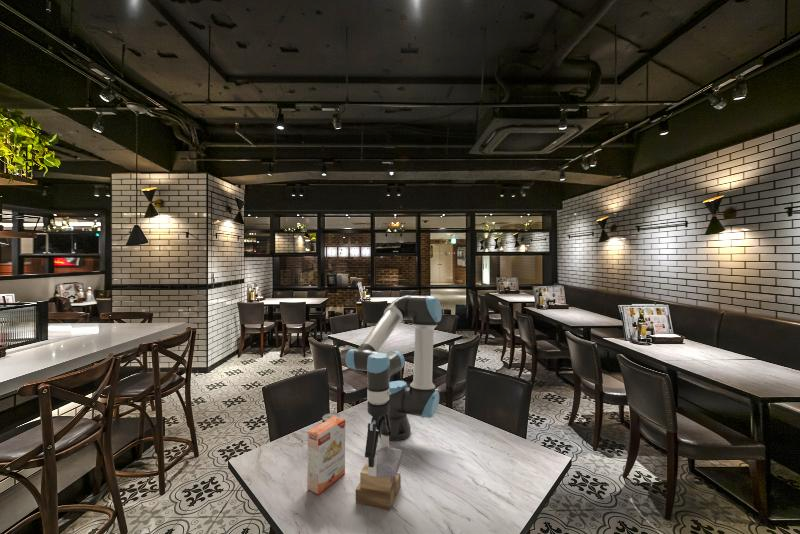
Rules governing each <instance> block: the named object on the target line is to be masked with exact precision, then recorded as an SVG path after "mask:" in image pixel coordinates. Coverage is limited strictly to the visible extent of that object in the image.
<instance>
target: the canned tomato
mask: <svg viewBox="0 0 800 534" xmlns="http://www.w3.org/2000/svg"><path fill="white" fill-rule="evenodd" d="M334 416H336V417H338V418H341V415H340V413H336V412H329V413H326V414H323V416H322V417H321V418H322V423H323V422H325V421H327V420H329V419H330V418H332V417H334Z"/></svg>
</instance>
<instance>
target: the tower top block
mask: <svg viewBox="0 0 800 534" xmlns="http://www.w3.org/2000/svg"><path fill="white" fill-rule="evenodd" d="M359 472H360V473H359V474H360V476H359V478H360V479H359V483H360V488H366V489H372V490H378V491H384V492H389V491H390V489H391V487H392V484H393V482H394V479H395V477H377V476H376V477H375V476H370V475H368V459H367V461H366V462H365V463H364V466H363V467H362V468H361V471H359Z"/></svg>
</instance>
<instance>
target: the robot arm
mask: <svg viewBox="0 0 800 534" xmlns="http://www.w3.org/2000/svg"><path fill="white" fill-rule="evenodd" d="M442 314H443V310H442V306H441V302H440V299H439V297H436V296H433V295H411V294H409V295H408V294H407V295H403V296H401V297H398V298H396V299H394V300H392V302H390V303H389V304H388V305H387V307H386V308H385V309H384V311H383V315H382V316H381V318H379V320H378V322H377V323H376V324H375V325H374V327H373V328H372V329H371V331H370V332H369V334H367V336H366V338H364V340H363V341H362V343H361V344H360V345H359V346H358V347H357V348H350V349H348V351H347V352H346V354H345V358H344V359H345V360H344V361H345V365H346V367H347V368H348V369H352V370H356V371H364V372H367V373H366V375H367V380H366V381H367V390H366V392H367V395H366V396H367V397H366V398H367V399H366V400H367V413H368V414H369V415H370V416H371V420H370V422H368V423H367V433H366V444H365V449H364V450H365V452H364V458H367V460H368V475H370V476H375V477H376V476H377V455H375V454H376V451H377V447H378V443H379V442H378V441H379V436H380V446H381V447H380V449H381V448H386V447H388V448H389V447H390V441H393V442H396V441H402V440H403V441H404V440H405V439H407V438H408V437H410V435H411V432H412V429H411V423H410V422H409V418H408V415H411V416H415V417H421V418H423V419H424V418H427V419H432V418H433V417H434V416H435V414H436V413H437V410H438V408H439V403H440V392H439V391H438V390H436V385H435V383H433V361H434V330H435V328H436V327H438V323H439V322H441V320H442V317H443V316H442ZM406 320H409V321H412V322H411V324H412V326H413V327H414V349H413V350H414V352H413V354H414V355H413V376H412V377H413V380H412V382H410V384H409V386H408V384H407V382H406V381H404V380H394V381H390V379H391V377H393V376H394V375H396V374H398V373H399V372H400V371H401V370H402V369H403V368H404V366H405V363H406V361H405V356H404V355H403V353H402V352H401V351H397V350H392V351H390V352H386V351H385V352H383V351H381V349H382V348H383V346H385V345H384V344H385V343H386V342H387V341H388V339H389V337H390V335H391V334H392V333H393V332H394V329H396V327H397V326H398V325H399V324H401V323H402V322H403V321H406Z"/></svg>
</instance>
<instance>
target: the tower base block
mask: <svg viewBox="0 0 800 534" xmlns="http://www.w3.org/2000/svg"><path fill="white" fill-rule="evenodd" d="M401 487H402V485H401V473H400V472H397V475H396V477H395V479H394V482H393V484H392V487H391V489H390V491H389V492H384V491H378V490H372V489H366V488H360V482H359V483H358V485H357V486H356V488H355V504H358V505H362V506H367V507H370V508H375V509H381V510H385V511H391V510H392V507H393V505H394V503H395V500H396V498H397V496H398V493H399V491H400V488H401Z"/></svg>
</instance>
